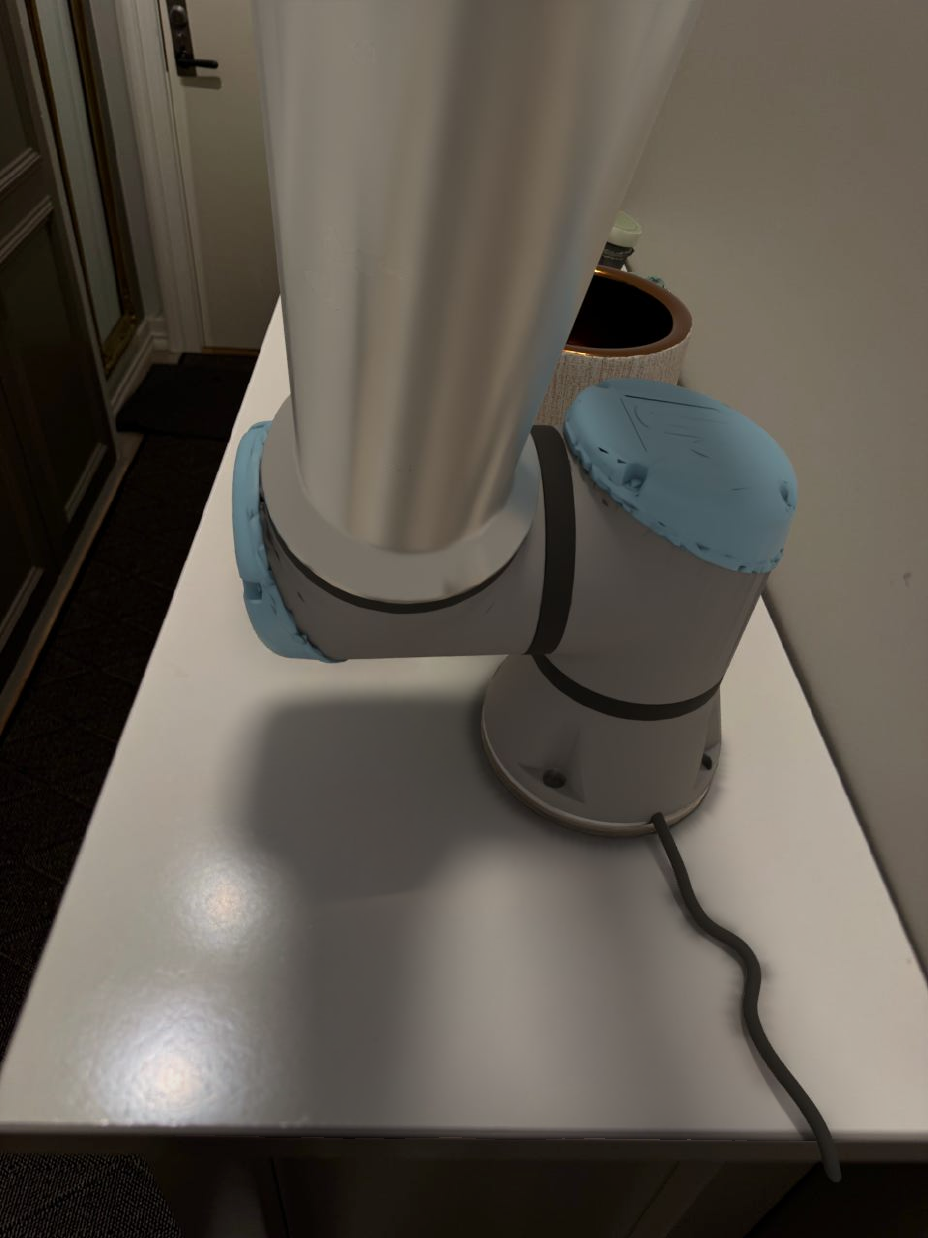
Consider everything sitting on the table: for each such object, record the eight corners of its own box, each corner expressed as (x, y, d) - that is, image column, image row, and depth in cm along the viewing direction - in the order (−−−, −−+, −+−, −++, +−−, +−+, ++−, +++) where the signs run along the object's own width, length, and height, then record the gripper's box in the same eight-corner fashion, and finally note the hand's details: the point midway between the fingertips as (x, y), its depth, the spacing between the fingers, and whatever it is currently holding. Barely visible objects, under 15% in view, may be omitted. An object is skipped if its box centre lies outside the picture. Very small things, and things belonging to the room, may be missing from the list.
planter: (678, 464, 81) (728, 302, 70) (593, 557, 69) (637, 381, 58) (518, 399, 87) (541, 241, 76) (416, 475, 75) (426, 302, 65)
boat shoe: (511, 144, 119) (493, 208, 125) (566, 211, 99) (541, 284, 104) (584, 165, 123) (563, 226, 128) (651, 234, 102) (623, 304, 108)
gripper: (535, 9, 49) (490, 380, 65) (317, -38, 55) (325, 314, 71) (464, 22, 44) (435, 418, 61) (233, -31, 50) (263, 345, 66)
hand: (376, 362), depth 66 cm, fingers closed on walnut stick, 3 cm apart
